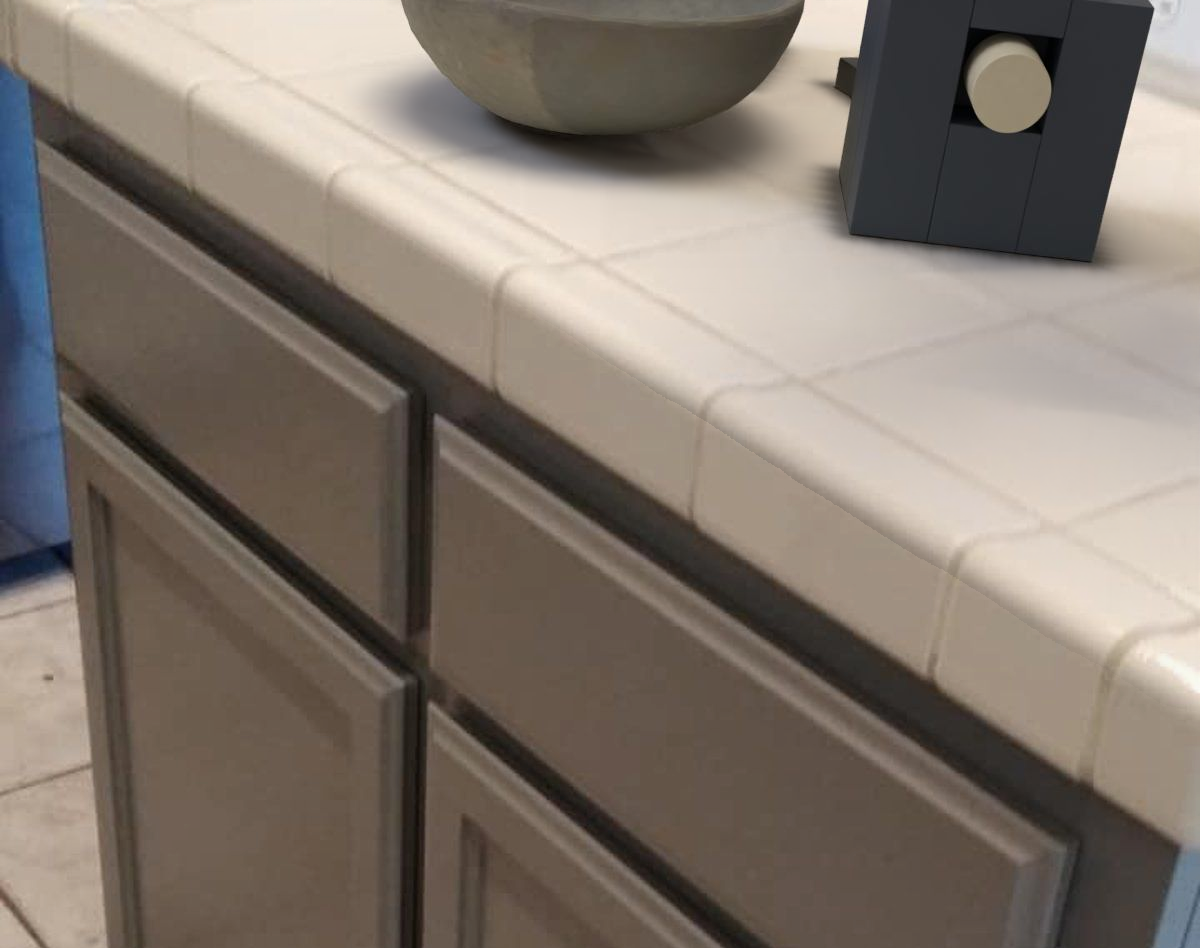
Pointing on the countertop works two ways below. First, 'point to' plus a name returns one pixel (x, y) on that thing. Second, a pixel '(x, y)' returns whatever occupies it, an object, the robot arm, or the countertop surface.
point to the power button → (1007, 83)
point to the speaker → (972, 150)
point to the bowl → (605, 57)
